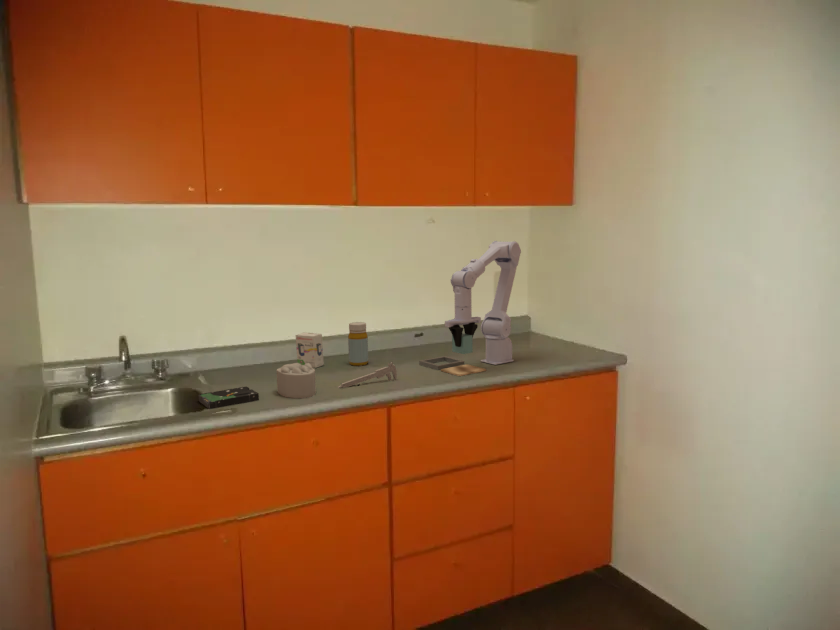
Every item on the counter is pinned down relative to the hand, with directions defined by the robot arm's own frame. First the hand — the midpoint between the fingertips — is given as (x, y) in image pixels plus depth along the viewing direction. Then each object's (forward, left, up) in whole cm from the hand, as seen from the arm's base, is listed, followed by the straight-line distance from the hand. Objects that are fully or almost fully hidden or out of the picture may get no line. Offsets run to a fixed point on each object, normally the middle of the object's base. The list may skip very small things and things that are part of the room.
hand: (463, 345), depth 221 cm
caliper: (+35, -7, -9) cm, 36 cm away
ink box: (+37, -42, -9) cm, 57 cm away
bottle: (+22, -33, -9) cm, 41 cm away
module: (0, 0, -2) cm, 2 cm away
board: (0, 0, -9) cm, 9 cm away
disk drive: (+77, -16, -10) cm, 79 cm away
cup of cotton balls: (+57, -11, -9) cm, 59 cm away
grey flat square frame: (0, -12, -9) cm, 15 cm away
